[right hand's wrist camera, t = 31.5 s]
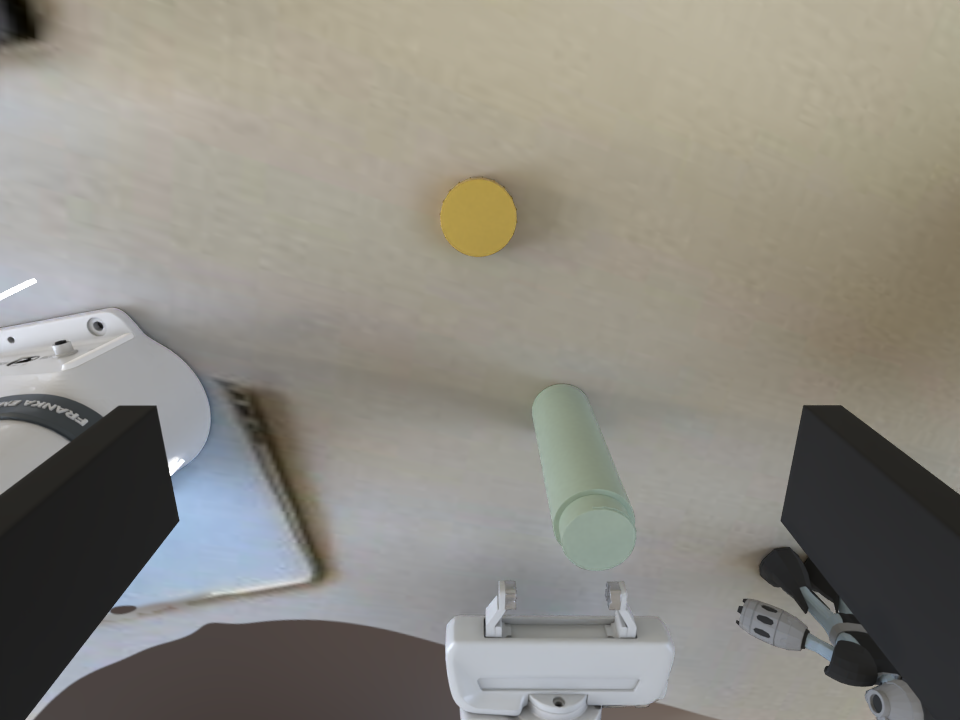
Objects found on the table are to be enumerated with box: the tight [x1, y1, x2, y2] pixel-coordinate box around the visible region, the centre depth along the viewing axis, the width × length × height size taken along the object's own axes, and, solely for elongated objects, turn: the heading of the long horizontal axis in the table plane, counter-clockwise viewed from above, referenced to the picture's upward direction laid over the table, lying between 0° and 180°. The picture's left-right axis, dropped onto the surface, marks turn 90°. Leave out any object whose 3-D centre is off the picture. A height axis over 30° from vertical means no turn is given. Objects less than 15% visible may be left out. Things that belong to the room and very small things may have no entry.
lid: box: [440, 177, 517, 257], centre depth 50 cm, size 6×6×2 cm
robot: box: [736, 547, 935, 720], centre depth 53 cm, size 20×5×20 cm, turn 81°
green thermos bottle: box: [532, 384, 636, 571], centre depth 48 cm, size 5×5×19 cm
